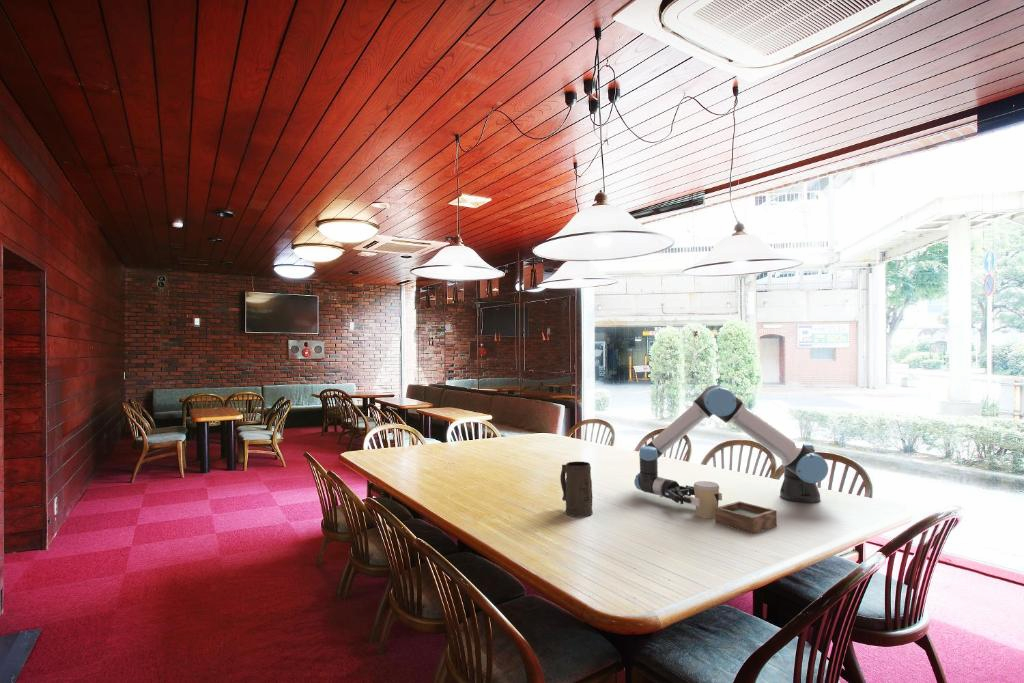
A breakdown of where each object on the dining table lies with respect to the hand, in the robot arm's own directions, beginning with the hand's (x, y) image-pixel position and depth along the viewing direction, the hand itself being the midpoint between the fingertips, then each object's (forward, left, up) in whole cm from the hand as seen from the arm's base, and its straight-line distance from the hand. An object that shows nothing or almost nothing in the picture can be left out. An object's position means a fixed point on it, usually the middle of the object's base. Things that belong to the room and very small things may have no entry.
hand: (710, 499), depth 202 cm
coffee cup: (0, -2, -7) cm, 7 cm away
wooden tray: (-2, +13, -6) cm, 15 cm away
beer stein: (+39, -35, -7) cm, 53 cm away
